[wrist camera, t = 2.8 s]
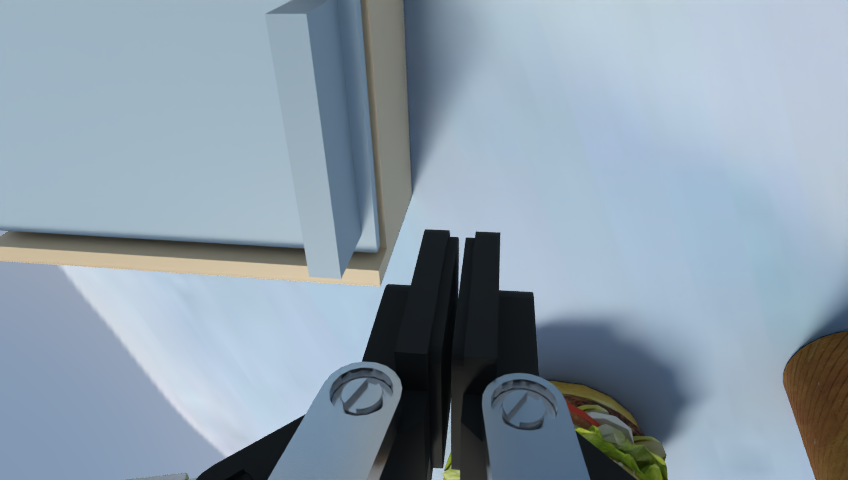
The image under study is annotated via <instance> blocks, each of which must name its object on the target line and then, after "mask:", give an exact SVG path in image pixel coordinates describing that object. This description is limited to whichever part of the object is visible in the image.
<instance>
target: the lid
mask: <svg viewBox="0 0 848 480" xmlns="http://www.w3.org/2000/svg"><path fill="white" fill-rule="evenodd" d="M0 230H3V231H20V232H37V233H54V234H71V235H87V236H104V237H121V238H138V239H154V240H171V241H188V242H205V243H222V244H238V245H255V246H272V247H289V248H304V249H305V255H306V261H307V267H308V273H309V277H318V278H333V279H341V278H342V276H343V274H344V272H345V270H346V268H347V265H348V263H349V261H350V259H351V257H352V254H353V252H354V251H356V252H373V253H377V252H378V249H379V247H380V237H379V225H378V213H377V200H376V188H375V176H374V164H373V152H372V139H371V127H370V115H369V103H368V91H367V78H366V66H365V54H364V42H363V30H362V18H361V5H360V0H0Z"/></svg>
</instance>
